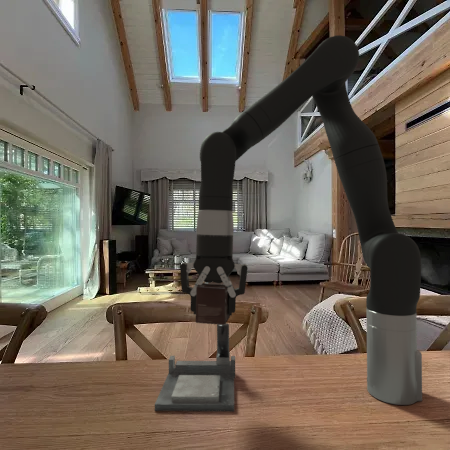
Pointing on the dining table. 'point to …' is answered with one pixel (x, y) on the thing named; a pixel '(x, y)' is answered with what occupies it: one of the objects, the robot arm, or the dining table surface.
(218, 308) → the box
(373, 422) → the dining table surface
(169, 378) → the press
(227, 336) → the lever
